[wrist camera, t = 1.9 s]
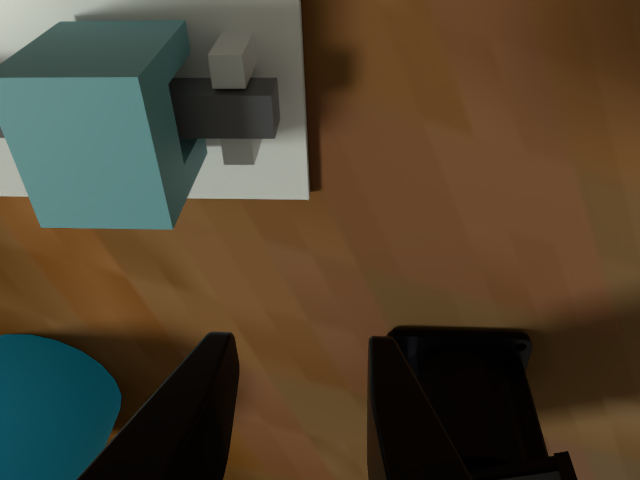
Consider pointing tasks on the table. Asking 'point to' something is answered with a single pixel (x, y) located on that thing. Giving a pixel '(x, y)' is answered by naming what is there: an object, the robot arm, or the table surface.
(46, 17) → the sliding vise on plate
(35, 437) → the mug
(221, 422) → the robot arm
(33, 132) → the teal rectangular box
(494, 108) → the table surface
